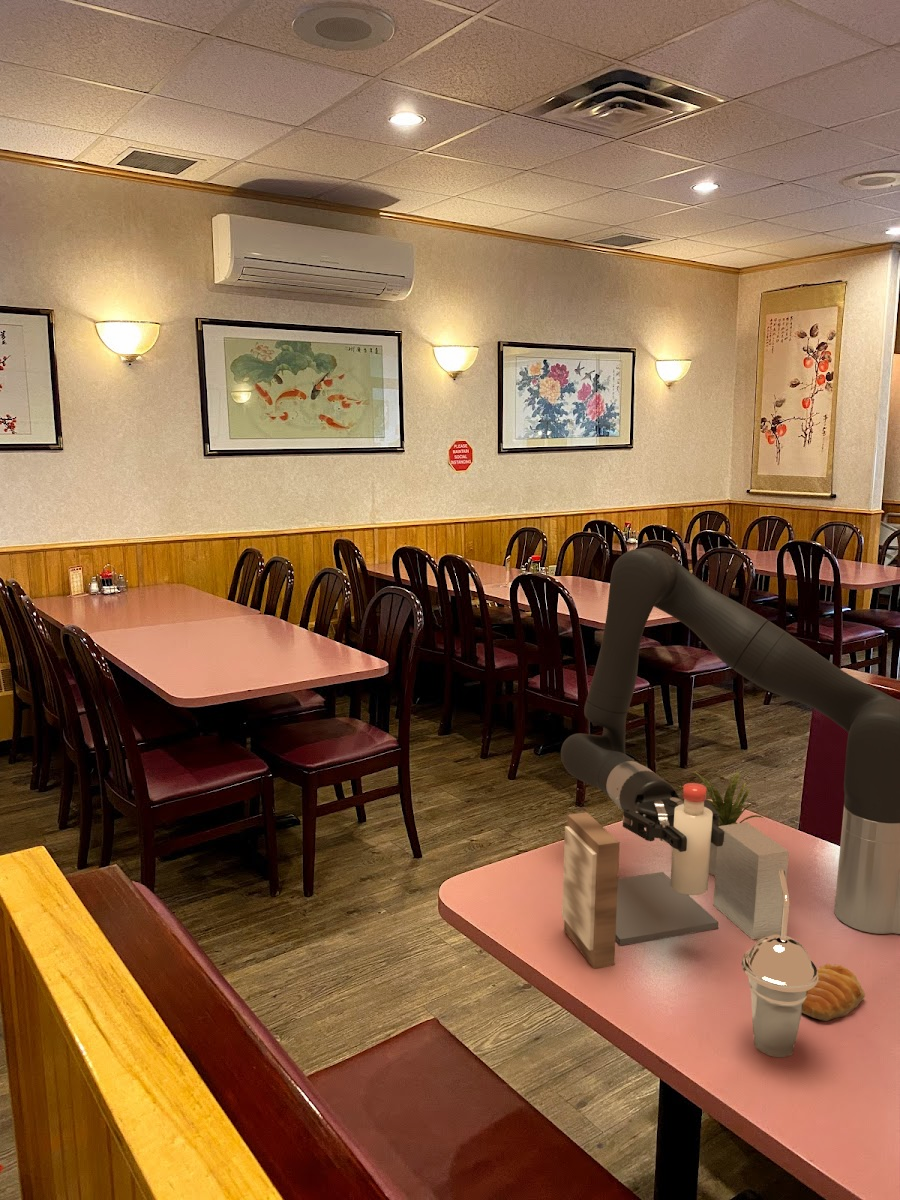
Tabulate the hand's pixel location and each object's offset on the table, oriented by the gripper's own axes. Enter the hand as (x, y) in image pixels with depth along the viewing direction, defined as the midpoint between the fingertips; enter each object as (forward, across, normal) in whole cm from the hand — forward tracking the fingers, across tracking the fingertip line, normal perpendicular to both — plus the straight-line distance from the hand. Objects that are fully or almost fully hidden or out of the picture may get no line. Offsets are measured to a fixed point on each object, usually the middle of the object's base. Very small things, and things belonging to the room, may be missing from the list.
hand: (702, 842), depth 122 cm
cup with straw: (+17, 0, +18) cm, 25 cm away
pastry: (+13, +12, +18) cm, 25 cm away
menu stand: (-8, -12, +18) cm, 23 cm away
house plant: (-24, +19, +18) cm, 35 cm away
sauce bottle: (-3, 0, +8) cm, 8 cm away
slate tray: (-15, 0, +18) cm, 23 cm away
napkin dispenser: (-8, +14, +18) cm, 24 cm away
